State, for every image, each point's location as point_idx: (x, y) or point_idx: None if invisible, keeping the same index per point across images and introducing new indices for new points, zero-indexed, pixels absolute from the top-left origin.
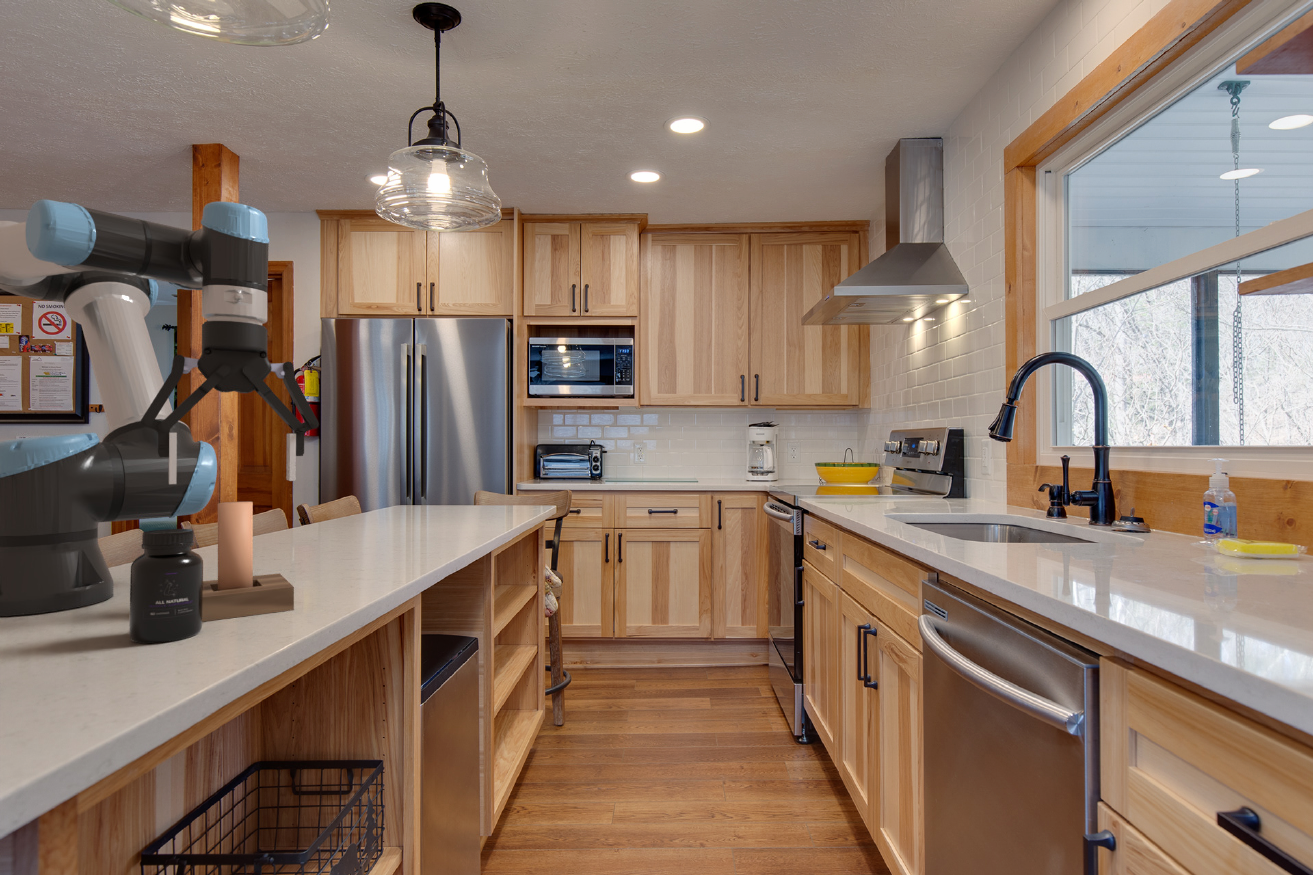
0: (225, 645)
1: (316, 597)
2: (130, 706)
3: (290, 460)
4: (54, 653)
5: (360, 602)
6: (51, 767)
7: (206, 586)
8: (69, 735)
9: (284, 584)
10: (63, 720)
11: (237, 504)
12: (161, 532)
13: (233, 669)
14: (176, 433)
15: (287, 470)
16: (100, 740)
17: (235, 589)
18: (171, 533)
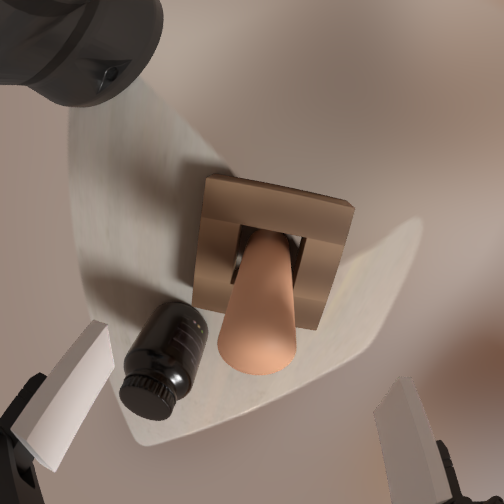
0: (216, 382)
1: (367, 265)
2: (162, 427)
3: (384, 457)
4: (107, 309)
5: (378, 329)
6: (145, 445)
7: (231, 237)
8: (145, 433)
9: (316, 307)
10: (139, 421)
11: (250, 373)
12: (138, 411)
13: (209, 421)
14: (55, 470)
15: (395, 411)
16: (155, 442)
17: None
18: (148, 418)
